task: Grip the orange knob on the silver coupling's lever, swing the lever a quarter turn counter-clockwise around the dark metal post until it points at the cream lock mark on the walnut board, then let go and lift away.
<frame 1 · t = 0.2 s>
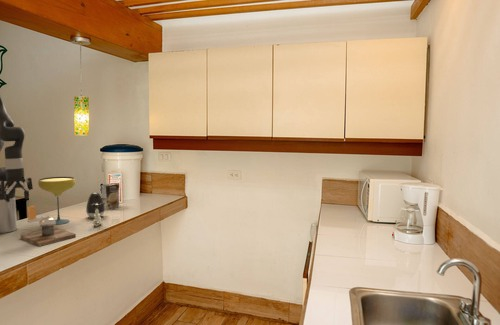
hand: (17, 200, 173), 18 cm above the countertop, tool pointing down, fingers open, 8 cm apart
cocktail glass: (58, 222, 199), on the countertop
valve: (97, 225, 195), on the countertop
base board: (48, 237, 172), on the countertop
coffee box: (110, 208, 234), on the countertop
coupling: (41, 215, 169), point 12 cm above the countertop, hinge at 0.0°
black egg-shaped body: (95, 217, 211), on the countertop
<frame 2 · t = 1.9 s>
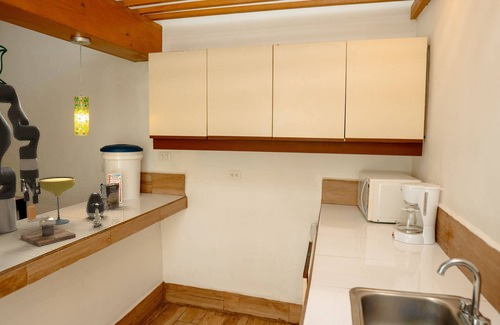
hand: (31, 202, 165), 19 cm above the countertop, tool pointing down, fingers open, 8 cm apart
nothing on the countertop moved.
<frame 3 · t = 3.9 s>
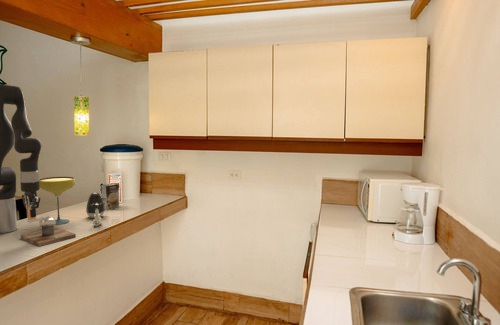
hand: (31, 216, 165), 12 cm above the countertop, tool pointing down, fingers closed on coupling, 2 cm apart
coupling: (41, 215, 169), point 12 cm above the countertop, hinge at 0.0°, touching gripper
everything else where it was.
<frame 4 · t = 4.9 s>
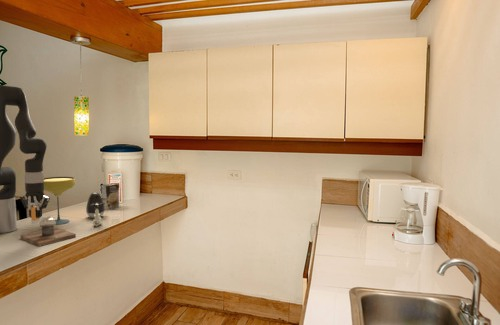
hand: (35, 217, 164), 12 cm above the countertop, tool pointing down, fingers closed on coupling, 3 cm apart
coupling: (43, 215, 169), point 12 cm above the countertop, hinge at 22.2°, touching gripper
everything else where it was.
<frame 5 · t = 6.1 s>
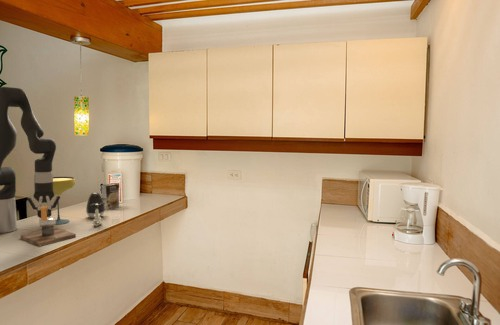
hand: (44, 217, 164), 12 cm above the countertop, tool pointing down, fingers closed on coupling, 3 cm apart
coupling: (46, 215, 169), point 12 cm above the countertop, hinge at 55.5°, touching gripper
everything else where it was.
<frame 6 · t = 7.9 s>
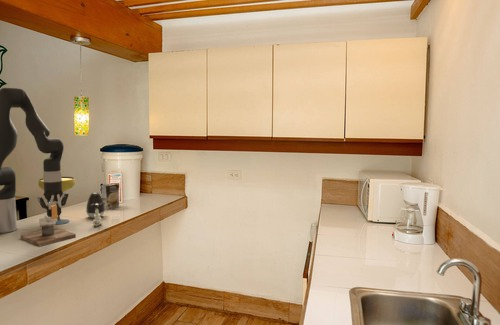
hand: (54, 215, 167), 12 cm above the countertop, tool pointing down, fingers open, 3 cm apart
coupling: (49, 215, 169), point 12 cm above the countertop, hinge at 86.4°
everything else where it was.
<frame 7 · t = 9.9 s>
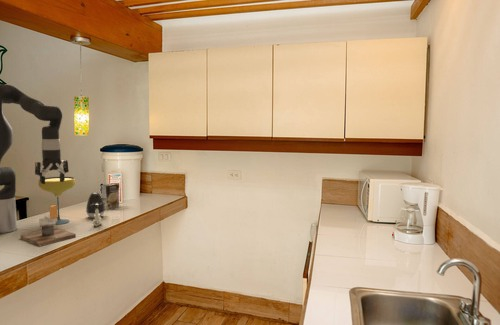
hand: (52, 182, 165), 28 cm above the countertop, tool pointing down, fingers open, 8 cm apart
nothing on the countertop moved.
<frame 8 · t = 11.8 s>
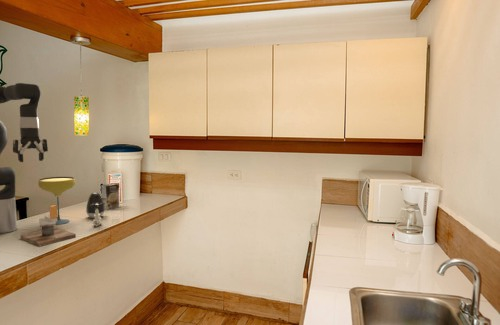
hand: (31, 161, 165), 38 cm above the countertop, tool pointing down, fingers open, 8 cm apart
nothing on the countertop moved.
at the end: coupling at +86° (first picture: +0°); valve moved 0.2 cm from its start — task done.
